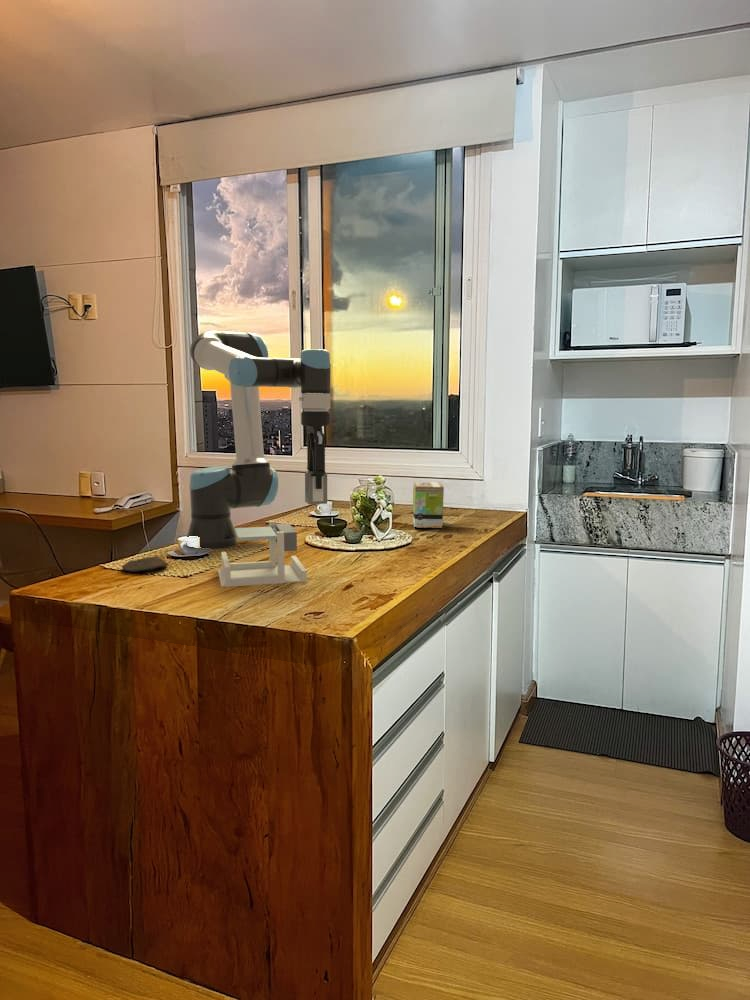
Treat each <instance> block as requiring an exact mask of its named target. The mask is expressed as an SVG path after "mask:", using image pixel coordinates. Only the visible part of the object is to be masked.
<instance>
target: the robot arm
mask: <svg viewBox="0 0 750 1000" xmlns="http://www.w3.org/2000/svg"><path fill="white" fill-rule="evenodd" d="M189 354H190V358H191V360H192V362H193V363H194V364H195V365H196V366H198V368H201V369H203V370H206V371H216V372H218V373H221V374H223V375H224V378H225V379H226V380H227V381H229V383H230V384H229V385H230V396H231V412H232V422H233V434H234V445H235V446H234V447H235V460H234V462H233V463H232V464H231V469H230V467H229V466H225V465H219V466H211V467H205V468H200V469H197V470H194V471H193V472H191V474H190V477H189V489H190V490H189V493H190V494H189V495H190V496H189V497H190V519H191V520H190V524H189V527H188V529H187V530H188V531H187V535H186V537H189V536H198V537H200V547H201V548H210V549H209V550H214V549H216V550H217V549H224V548H229V547H233V546H235V545H238V538H237V536H236V533H235V527H234V525H233V521H232V519H231V517H232V516H231V510H232V509H243V508H255V507H259V508H260V507H264V506H268V505H271V504H272V503H273V502H274V501H275V499H276V497H277V494H278V491H279V490H278V489H279V477H278V475H277V471H276V470H275V469H274V468H272V467H270V466H271V465H270V464H271V463H270V461H269V460H267V458H265V451H264V440H263V439H264V438H263V428H262V426H263V425H262V424H263V423H262V414H261V402H260V400H261V399H260V387H262V388H264V387H268V388H271V387H272V388H294V389H295V388H300V393H301V394H300V397H298V401H299V402H300V403H301V405H300V408H301V410H303V411H301V412H300V421H301V423H300V424H301V425H302V426H304V427H309V428H308V429H309V430H308V432H307V433H306V441H307V442H306V443H307V444H306V447H307V450H306V451H307V458H306V459H307V460H306V461H307V465H306V466H307V467H306V470H307V471H313V474H311V477H313V502H315V501H323V476H324V475H325V472H326V458H325V457H326V438H327V437H326V434H325V432H323V427H328V426H330V425H331V412H330V411H329V410H330V409H331V366H332V364H331V355H330V352H329V350H328V349H323V348H322V349H320V348H318V349H316V348H314V349H313V348H309V349H302V350H301V352H300V358H288V357H287V358H285V357H269V351H268V347H267V344H266V342H265V339H264V338H263V337H262V336H261V335H259V333H258V334H257V333H253V332H247V331H219V330H209V331H205V332H203V333H200V334H199V335H197V336H196V337H194V339H193V341H192V342H191V344H190V348H189Z"/></svg>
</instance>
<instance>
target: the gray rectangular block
mask: <svg viewBox="0 0 750 1000" xmlns="http://www.w3.org/2000/svg"><path fill="white" fill-rule="evenodd" d="M311 474H313V471H308V470H307V471H304V501H305V503H306V504H307V505H328V473H327V471H325V475H324V476H323V501H315V502H313V477H311Z"/></svg>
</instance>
